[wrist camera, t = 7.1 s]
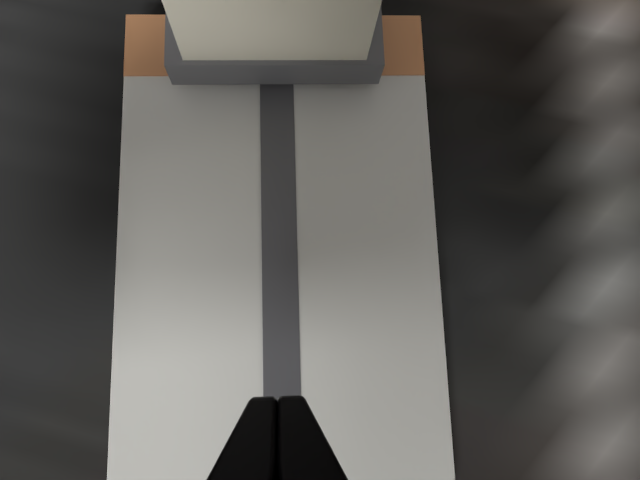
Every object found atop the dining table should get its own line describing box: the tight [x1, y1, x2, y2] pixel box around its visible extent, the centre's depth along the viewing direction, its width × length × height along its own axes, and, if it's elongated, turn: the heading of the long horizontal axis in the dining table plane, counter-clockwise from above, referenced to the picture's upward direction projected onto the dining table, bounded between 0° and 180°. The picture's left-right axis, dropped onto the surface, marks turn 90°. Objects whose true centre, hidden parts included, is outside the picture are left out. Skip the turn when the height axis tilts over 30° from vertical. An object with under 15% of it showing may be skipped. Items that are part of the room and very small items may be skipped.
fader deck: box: [107, 15, 455, 480], centre depth 17 cm, size 15×9×2 cm, turn 2°
